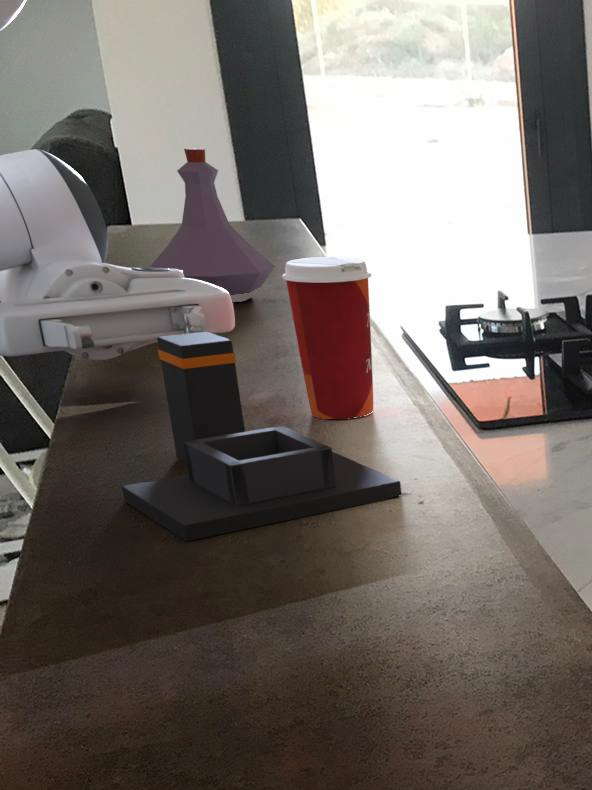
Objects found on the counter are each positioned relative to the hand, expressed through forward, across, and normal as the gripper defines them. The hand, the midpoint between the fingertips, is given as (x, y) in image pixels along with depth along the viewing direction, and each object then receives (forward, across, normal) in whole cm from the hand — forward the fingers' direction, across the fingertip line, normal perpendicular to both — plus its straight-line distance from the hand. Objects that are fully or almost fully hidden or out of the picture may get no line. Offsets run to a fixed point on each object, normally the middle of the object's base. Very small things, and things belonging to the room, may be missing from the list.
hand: (143, 332), depth 110 cm
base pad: (+25, -1, +9) cm, 27 cm away
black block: (+12, 0, +9) cm, 15 cm away
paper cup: (+4, +15, +9) cm, 18 cm away
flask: (-68, +32, +9) cm, 76 cm away
